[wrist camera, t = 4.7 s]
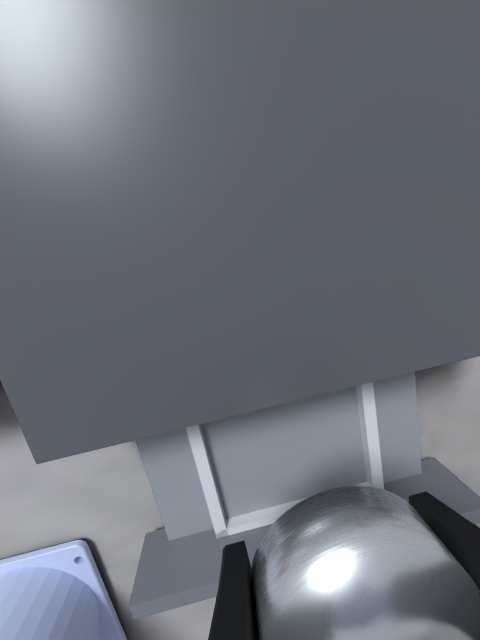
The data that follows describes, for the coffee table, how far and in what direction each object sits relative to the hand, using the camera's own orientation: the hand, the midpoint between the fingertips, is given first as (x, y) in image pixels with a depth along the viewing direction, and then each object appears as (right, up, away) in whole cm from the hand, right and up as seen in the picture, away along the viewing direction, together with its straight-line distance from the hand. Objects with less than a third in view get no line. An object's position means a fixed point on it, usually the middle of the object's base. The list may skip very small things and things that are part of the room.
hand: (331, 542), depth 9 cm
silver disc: (0, 0, -1) cm, 1 cm away
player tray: (-1, +3, +6) cm, 7 cm away
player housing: (-3, +12, +4) cm, 13 cm away
